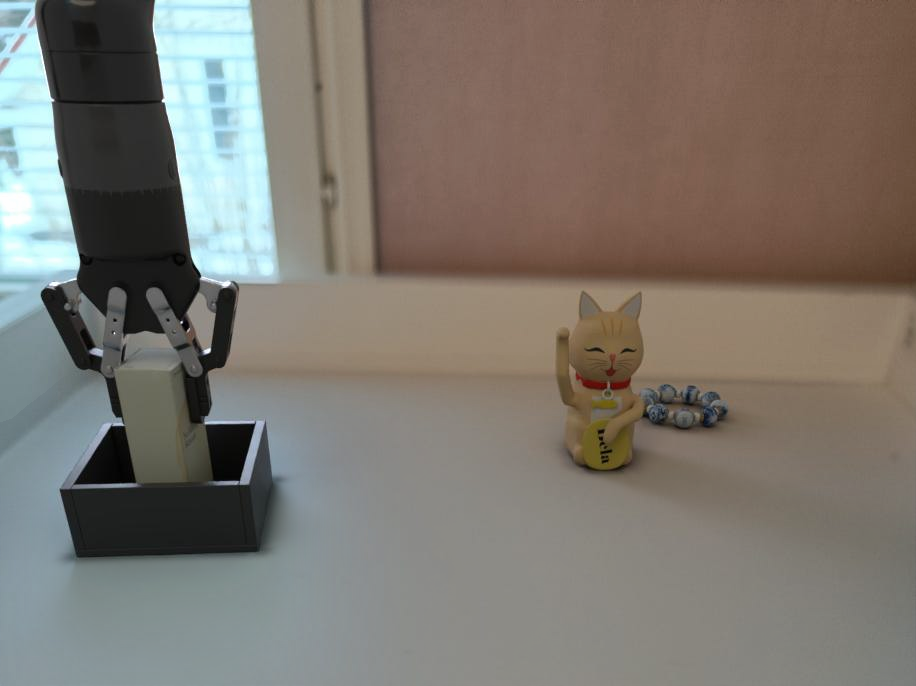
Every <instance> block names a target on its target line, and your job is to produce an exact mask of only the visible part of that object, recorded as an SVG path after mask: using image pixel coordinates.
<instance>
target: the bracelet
mask: <svg viewBox="0 0 916 686" xmlns="http://www.w3.org/2000/svg"><path fill="white" fill-rule="evenodd" d="M638 395H639V396H641V397H642V399H643V400H644V412H643V416H647V415H648V417H649V420H650V421H651V422H653V423H655V424H662V423H665V422H666V421H667V420H668V421H671V422H672V421H674V423H675V425H676V426H677V427H678V428H681V429H687V428H689V427H691V425H692V424H693V423H694V422H695V423H699V424H701V425H702V426H703V427H710V426H713V425H714V424H716V422H717V421H718V420H721V419H723V418H725V417H726V416H727V414H728V411H729V406H728V404H727V402H726V401H724V400H722V399H721V396H720V394H719V393H717V392H716V391H708V392H706V393H703V392H701V391H700V390H699V388H698V387H697V386H695V385H686V386H684V387H683V388H682V390H681V389H678V388H677V389H676V388H675V387H674V386H673V385H671V384H667V383H663V384H661V385H659V386H658V388H657V389H656V390H654V389H653V388H651V387H646V388H644V389H642V390H641V391H640V392H639V394H638ZM675 398H676V399H679V398H681V400H682V402H684V403H685V404H688V405H693V404H695V403H697V402H699V403H701V406H702V407H703V408H701V409H700V410H699V411H698V412H693V410H691V409H690V408H688V407H683V408H680V409H678V410H676V411H673V410H671V411H670V409H669V408H668V407H667V406H666V405H665V404H667V403H670V402H672V401H673V400H674V399H675ZM657 400H658V401H659V402H661V403H657ZM662 403H663V404H662ZM664 403H665V404H664Z"/></svg>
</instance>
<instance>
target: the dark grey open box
mask: <svg viewBox="0 0 916 686" xmlns="http://www.w3.org/2000/svg"><path fill="white" fill-rule="evenodd" d="M205 428H206V434H207V441H208V447H209V454H210V461H211V467H212V474H213V480H214V482H173V483H136V479H135V474H134V469H133V464H132V459H131V454H130V449H129V444H128V439H127V434H126V429H125V425H123V422H114V423H112V422H103V424H102V425H101V427H99V429H98V431H97V433H95V436H94V437H93V438H92V439H91V441H90V443H89V444H88V446H87V447H86V449H85V450H84V452H83V453H82V455H81V456H80V458H79V460H78V461H77V462H76V464H75V465H74V466H73V468H72V470H71V471H70V472H69V474H68V475H67V477H66V479H65V480H64V482H62V484H61V486H60V488H59V493H60V497H61V501H62V505H63V509H64V513H65V517H66V521H67V525H68V529H69V533H70V537H71V541H72V545H73V548H74V553H75V556H76V558H85V557H116V556H117V557H118V556H119V557H120V556H147V555H148V556H149V555H151V556H152V555H154V556H155V555H179V554H180V555H182V554H183V555H184V554H186V555H187V554H213V553H216V554H218V553H244V552H246V553H247V552H249V553H250V552H259V549H260V543H261V538H262V533H263V530H264V529H263V528H264V524H265V518H266V514H267V510H268V504H269V499H270V495H271V489H272V486H273V471H272V462H271V453H270V445H269V436H268V428H267V421H266V420H226V421H225V420H224V421H223V420H222V421H218V420H217V421H216V420H215V421H205Z"/></svg>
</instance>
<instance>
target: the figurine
mask: <svg viewBox="0 0 916 686" xmlns="http://www.w3.org/2000/svg"><path fill="white" fill-rule="evenodd" d="M642 300H643V293H642V291H641V290H639V291H638V292H635V293H633V294H631V295H630V296H628V297H627V298H625V300H624V301H622V302H621V303H619V305H618V306H617V307H616V308H615V310H614V311H605V310H604V311H603V309H602V308H601V306H600V305H599V304H598V303H597V301H596V300H595V299H594V298H593V297H592V296H591V295H590V294H589V293H587V292H586V291H585V290H581V291H580V296H579V303H578V319H579V320H578V321H577V323H576V324H575V326H574V328H573V330H572V332H570V330H569V329H568V328H567V327H565V326H560V327H558V328H557V330H556V333H555V362H554V364H555V365H554V369H555V370H554V373H555V379H556V384H557V388H558V392H559V396H560V400H561V402H562V404H563V405H565V406H567V409H566V419H565V423H564V424H565V425H564V443H565V447H566V449H567V450H568V451H569V452H570V454H571V455H572V457H573V461H574V463H576V464H577V465H581V466H587V467H590V468H591V469H594V470H598V471H610V470H614V469H617V468H619V467H620V466H625V465H629V464H630V463H631V461H632V460H633V442H634V434H635V427H636V426H635V425H636V423H638V422H639V421H640V420H641V419H642V418H643V416H644V415H643V412H644V400H643V399H642V397H641V396H639V394H636V393H634V392H633V388H632V386H631V382H632V376H634V374H636V372H637V371H638V369H639V368H640V366H641V365H642V362H643V359H644V354H645V353H644V352H645V351H644V350H645V348H644V340H643V336H642V332H641V327H640V324H639V318H640V314H641V310H642ZM570 366H571V368H573V370H574V371H575V374H574V375H575V376H574V377H575V379H574V381H573V383H572V381H571V376H570Z"/></svg>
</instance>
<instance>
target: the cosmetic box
mask: <svg viewBox="0 0 916 686" xmlns="http://www.w3.org/2000/svg"><path fill="white" fill-rule="evenodd" d="M114 374H115V379H116V384H117V389H118V394H119V399H120V404H121V409H122V414H123V419H124V424H125V429H126V434H127V439H128V444H129V449H130V454H131V459H132V464H133V469H134V474H135V479H136V483H173V482H214V480H213V474H212V467H211V461H210V454H209V447H208V441H207V434H206V428H205V422H206V421H205V420H204V422H203V424H193V422H192V417H191V411H190V404H189V398H188V392H187V385H186V379H185V378H186V376H187V374H188V373H187V371H186V369H185V367H184V365H183V363H182V361H181V359H180V357H179V355H178V353H177V351H176V350H174V349H173V348H168V347H161V348H160V347H139V348H138V349H137V350H135V351H134V352H133V353H132V354H131V355H129V356H127V358H125V361H124V362H122V363H121V364H120V365H119V366H118V367H117V368H115V369H114Z"/></svg>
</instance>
